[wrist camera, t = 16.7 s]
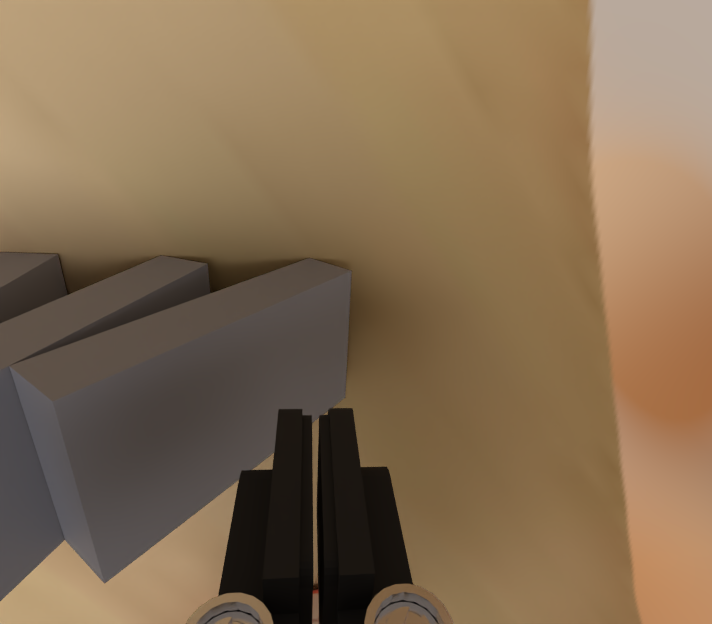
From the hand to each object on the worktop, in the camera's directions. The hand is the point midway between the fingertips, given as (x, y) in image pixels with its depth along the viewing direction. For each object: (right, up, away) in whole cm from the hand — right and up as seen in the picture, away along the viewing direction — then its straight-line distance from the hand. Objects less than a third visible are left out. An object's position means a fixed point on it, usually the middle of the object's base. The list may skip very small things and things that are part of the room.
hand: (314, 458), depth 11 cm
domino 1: (0, +3, +6) cm, 6 cm away
